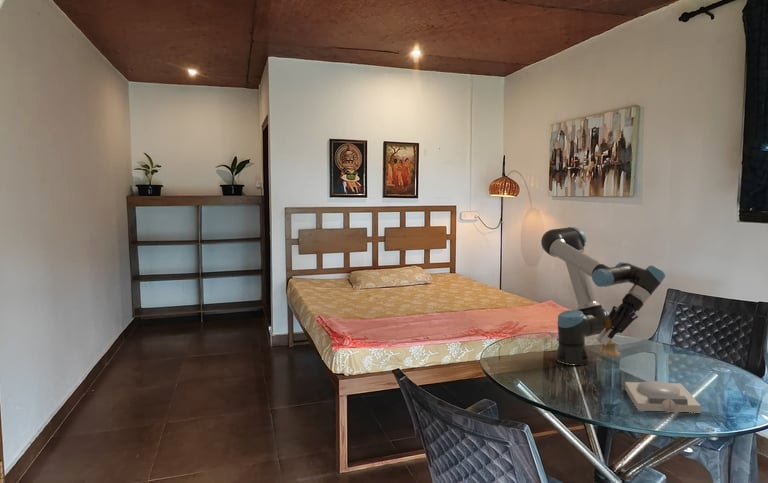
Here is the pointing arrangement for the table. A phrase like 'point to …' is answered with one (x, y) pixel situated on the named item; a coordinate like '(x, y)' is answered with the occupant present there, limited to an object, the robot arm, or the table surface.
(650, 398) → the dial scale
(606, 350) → the hand bell
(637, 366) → the table surface
